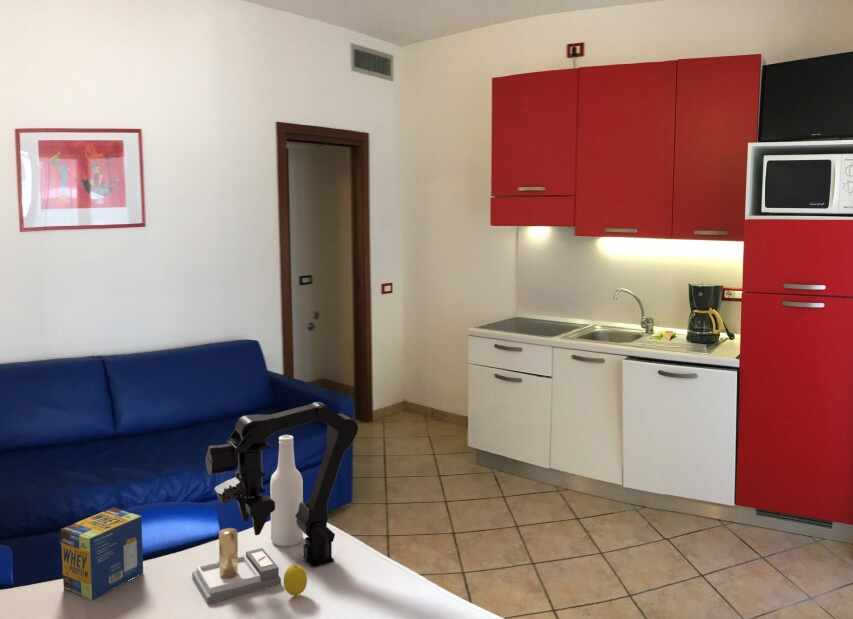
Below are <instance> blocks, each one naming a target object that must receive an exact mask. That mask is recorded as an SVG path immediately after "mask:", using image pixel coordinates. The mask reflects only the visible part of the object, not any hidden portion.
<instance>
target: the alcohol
mask: <svg viewBox="0 0 853 619" xmlns="http://www.w3.org/2000/svg"><path fill="white" fill-rule="evenodd" d="M278 440H279V441H278V445H279V446H278V460H277V468H276V470H275V471H274V472H273V473H272V474H271V477H270V481H269V482H270V484H269V485H270V487H269V488H270V489H269V490H270V491H269V492H270V498H271V499H272V500H273V501H274V502H275V510H274V511H273V512H272V513H270V540H271V542H272V543H273V545H275V546H277V547H282V548H289V546H290V547H294V546H296V544H297V545H298V544H300V543H301V542H302V540H303V538H304V532H303V531H302V530H301V529H300V528H299V527H298V525H297V523H296V520H297V518H296V517H295V515H296V514H297V512H298V510H299V505H300V503H301V502H302V503H304V497H303V496H304V493H303V492H304V491H303V490H304V488H303V485H304V484H303V482H304V480H303V476H302V473H301V472H300V471H299V470H298V469H297V467H296V463H295V462H296V461H295V450H294V443H295V442H294V436H293V435H289V434H283V435H280V436H279V437H278ZM299 542H300V543H299ZM293 545H294V546H293Z"/></svg>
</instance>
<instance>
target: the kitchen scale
mask: <svg viewBox="0 0 853 619" xmlns="http://www.w3.org/2000/svg"><path fill="white" fill-rule="evenodd" d="M279 570H280V569H279V566H278V564H277V563H275V561H274V559H272V558H271V556H270V555H269V554H268V553H267V552H266V550H265V549H264V548H263V547H261V548H257V549H252V550H249V551H246V552H245V554H243V555H240V556H239V555H238V575H237V576H236V577H234V578H230V579H223V578H221V577H220V576H219V560H218V561H213V562H210V563H205V564H201V565H196V570H193V571H191V572H192V573H191V576H192V580H193V582H194V581H195V582H194V583H195V584H196V586H198V587H197V589H198V590H199V592H200V593H201V595H202V597H203V599H204V598H205V599H204V601H205V602H206V604H212V603H216V602H219V601H222V600H227V599H230V598H234V597H238V596H242V595H245V594H248V593H253V592H257V591H260V590H264V589H268V588H273V587H276V586H279V585H282V577H281V576H280V573H279V572H280V571H279Z"/></svg>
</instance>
